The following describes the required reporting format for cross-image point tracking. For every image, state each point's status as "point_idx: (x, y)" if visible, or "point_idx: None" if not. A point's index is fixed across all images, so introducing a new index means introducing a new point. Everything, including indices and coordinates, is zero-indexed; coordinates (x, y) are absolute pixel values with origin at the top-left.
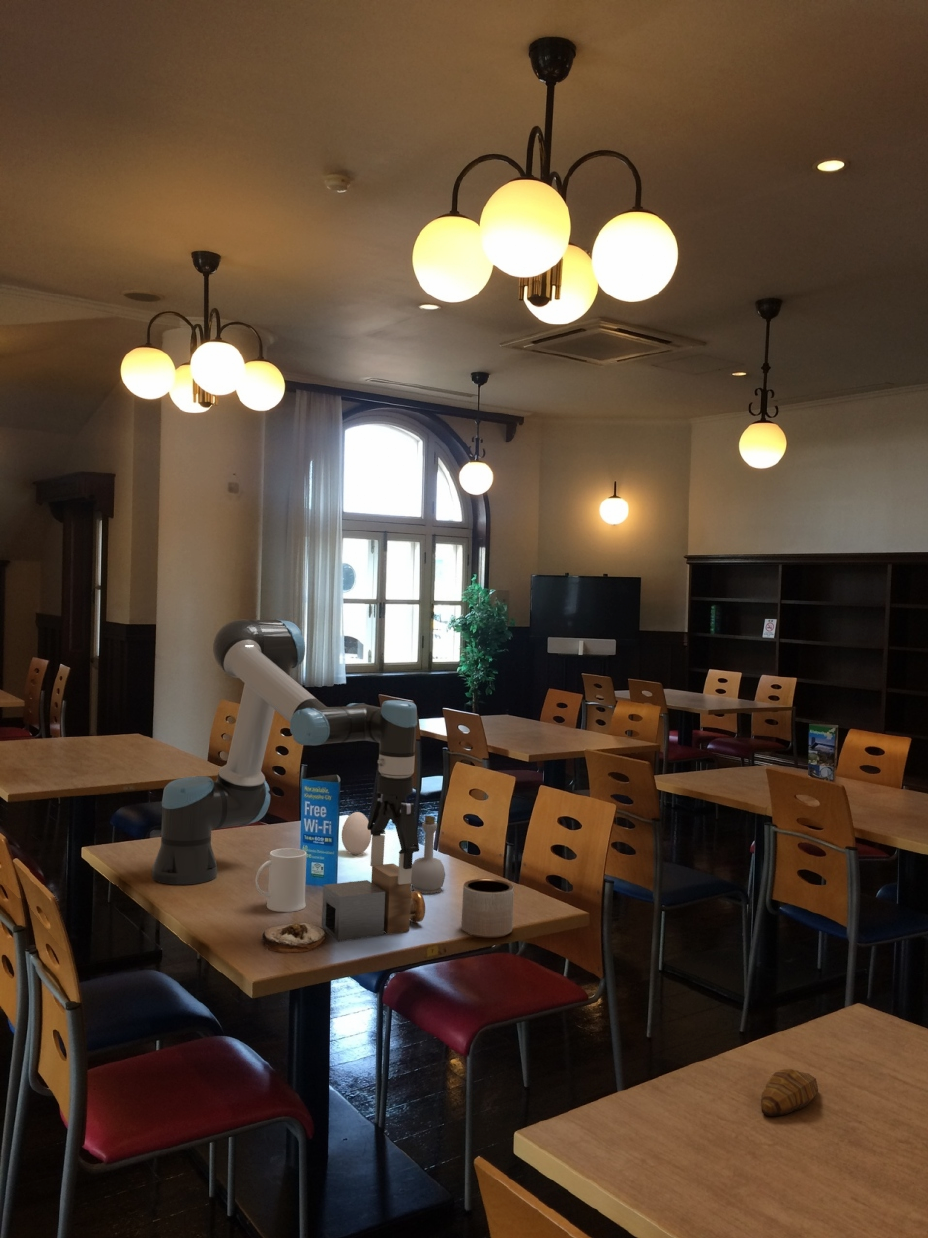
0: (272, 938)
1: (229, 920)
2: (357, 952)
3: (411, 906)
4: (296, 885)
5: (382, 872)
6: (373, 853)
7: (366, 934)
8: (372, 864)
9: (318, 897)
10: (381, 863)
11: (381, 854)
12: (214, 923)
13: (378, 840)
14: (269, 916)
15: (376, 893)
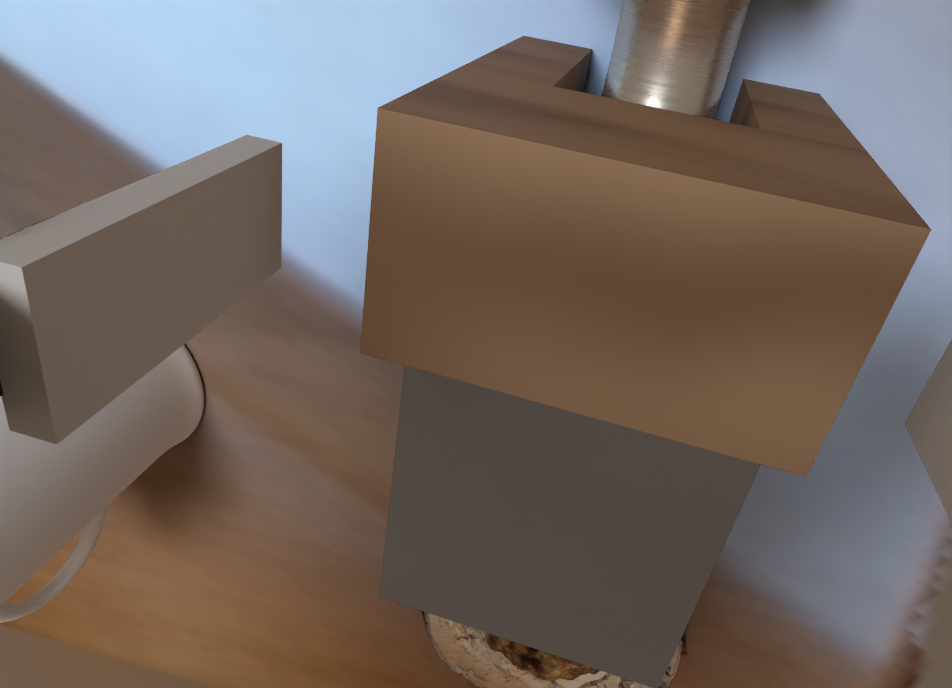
0: (520, 672)
1: (227, 598)
2: (861, 528)
3: (742, 20)
4: (115, 452)
5: (612, 418)
6: (207, 314)
7: None
8: (273, 269)
9: (31, 172)
10: (271, 169)
11: (213, 205)
12: (240, 640)
13: (93, 337)
14: (231, 490)
15: (746, 487)
